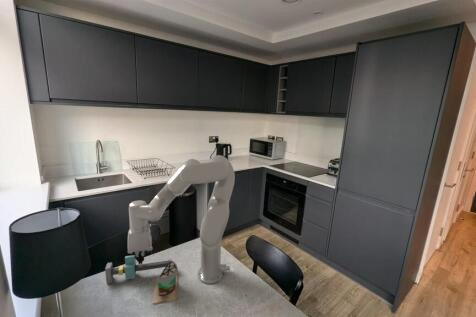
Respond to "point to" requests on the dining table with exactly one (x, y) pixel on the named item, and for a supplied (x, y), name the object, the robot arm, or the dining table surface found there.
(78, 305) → the dining table surface
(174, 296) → the mat
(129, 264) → the sleeve
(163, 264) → the rail
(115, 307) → the dining table surface
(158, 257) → the dining table surface
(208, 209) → the robot arm
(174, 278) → the food container
